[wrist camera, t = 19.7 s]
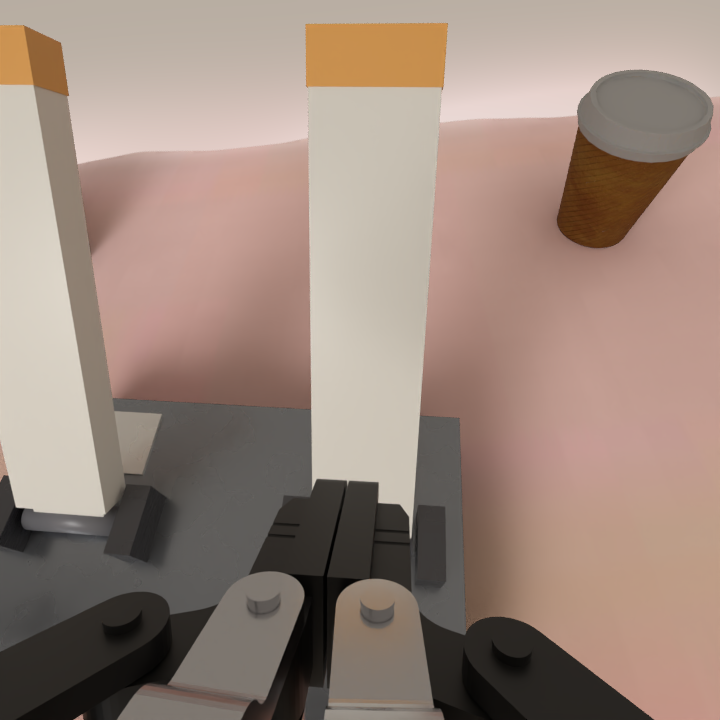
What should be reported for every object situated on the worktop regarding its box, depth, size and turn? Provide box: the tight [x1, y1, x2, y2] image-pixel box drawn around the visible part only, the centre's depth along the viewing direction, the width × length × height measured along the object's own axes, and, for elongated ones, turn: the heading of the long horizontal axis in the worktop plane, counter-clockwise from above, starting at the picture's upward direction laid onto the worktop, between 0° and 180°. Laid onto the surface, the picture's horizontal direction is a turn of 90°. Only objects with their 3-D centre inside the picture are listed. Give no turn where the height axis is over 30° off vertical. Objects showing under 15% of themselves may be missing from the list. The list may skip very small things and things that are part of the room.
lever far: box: [0, 25, 126, 536], centre depth 23 cm, size 2×5×24 cm
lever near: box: [306, 23, 448, 560], centre depth 22 cm, size 2×5×24 cm
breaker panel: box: [0, 398, 466, 720], centre depth 28 cm, size 16×27×7 cm, turn 85°
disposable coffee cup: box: [557, 70, 713, 248], centre depth 41 cm, size 10×10×12 cm
